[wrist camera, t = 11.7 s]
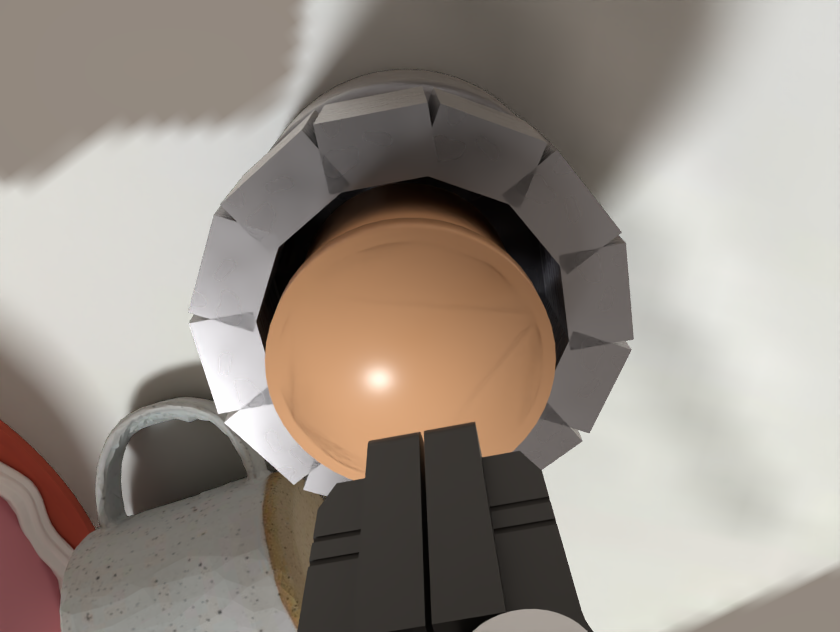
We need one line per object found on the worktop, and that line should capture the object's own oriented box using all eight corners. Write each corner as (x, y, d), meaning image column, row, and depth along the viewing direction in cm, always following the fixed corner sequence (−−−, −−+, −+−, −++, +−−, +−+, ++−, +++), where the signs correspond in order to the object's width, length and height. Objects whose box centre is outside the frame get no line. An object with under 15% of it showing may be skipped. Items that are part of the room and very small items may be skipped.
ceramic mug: (375, 565, 32) (369, 727, 25) (198, 630, 33) (143, 804, 26) (253, 349, 28) (204, 466, 21) (58, 430, 29) (-52, 568, 22)
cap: (502, 152, 19) (537, 203, 15) (532, 364, 22) (569, 465, 17) (268, 196, 20) (230, 259, 15) (321, 401, 22) (303, 510, 17)
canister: (535, 41, 24) (611, 67, 16) (569, 329, 28) (644, 473, 20) (221, 102, 24) (134, 158, 16) (298, 378, 28) (259, 539, 20)
